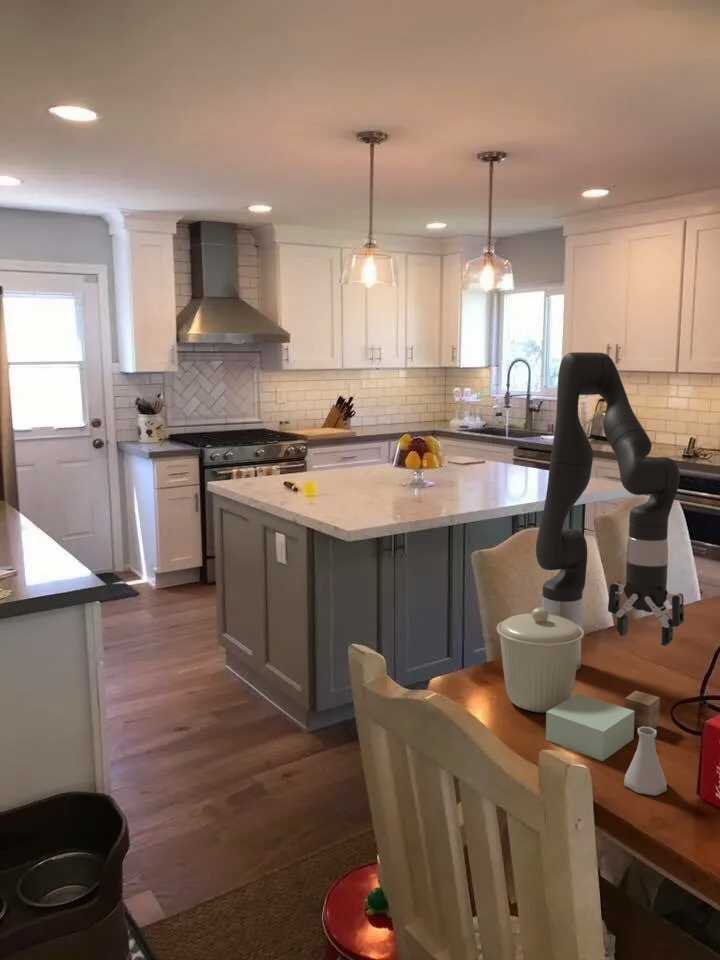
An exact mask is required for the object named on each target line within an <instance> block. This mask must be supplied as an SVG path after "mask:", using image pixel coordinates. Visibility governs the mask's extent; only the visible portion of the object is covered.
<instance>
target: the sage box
mask: <svg viewBox="0 0 720 960" xmlns="http://www.w3.org/2000/svg"><path fill="white" fill-rule="evenodd" d="M634 713H635V711H633V710H630V709H627V708H625V706H624V707H623V706H620V705H618V704H614V703H611V702H607V701H605V700H602V699H599V698H595V697H591V696H588V695H586V694H583V693H579V692H578V693H576V694H575V695H572V697H571V698H570V699H568V700H566V701H564V702H563V703H561V704H559V705H557V706H556V707H554V708H552V709H550V710H549V711H547V712H545V714H546V715H545V718H546V719H545V740H546V741H548V742H549V743H550V742H551V743H553V744H555V745H558V746H561V747H564V748H567V749H569V750H572V751H575V752H577V753H580V754H582V755H584V756H587V757H591V758H593V759H595V760H597V761H600V762H604V761H605V760H606V759H608V758H609V757H611V756H612V755H614V754H615V753H616V752H618V751H619V750H621V749H622V748H623V747H624V746H626V745H628V744H629V743H630V742H631V741H633V740H634V734H635V730H634Z"/></svg>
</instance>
